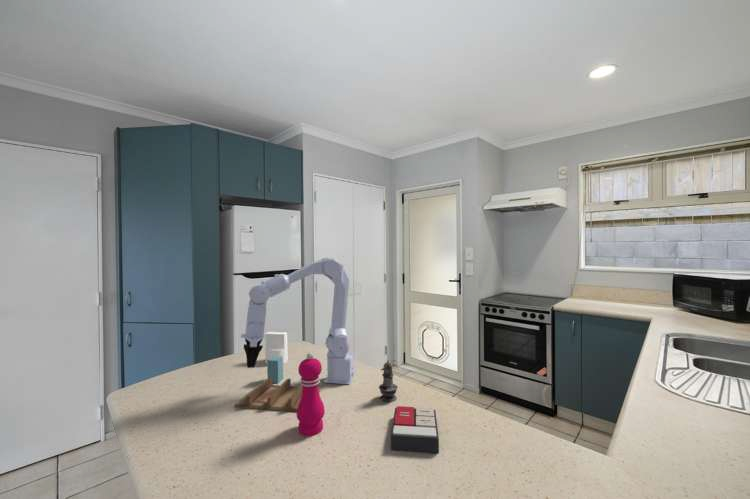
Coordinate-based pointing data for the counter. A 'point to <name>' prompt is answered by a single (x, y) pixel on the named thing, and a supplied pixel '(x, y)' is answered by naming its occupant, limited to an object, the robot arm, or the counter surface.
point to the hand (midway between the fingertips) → (251, 363)
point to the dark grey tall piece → (388, 384)
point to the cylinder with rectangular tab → (276, 345)
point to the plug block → (275, 369)
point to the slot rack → (273, 397)
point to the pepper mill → (310, 397)
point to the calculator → (415, 430)
